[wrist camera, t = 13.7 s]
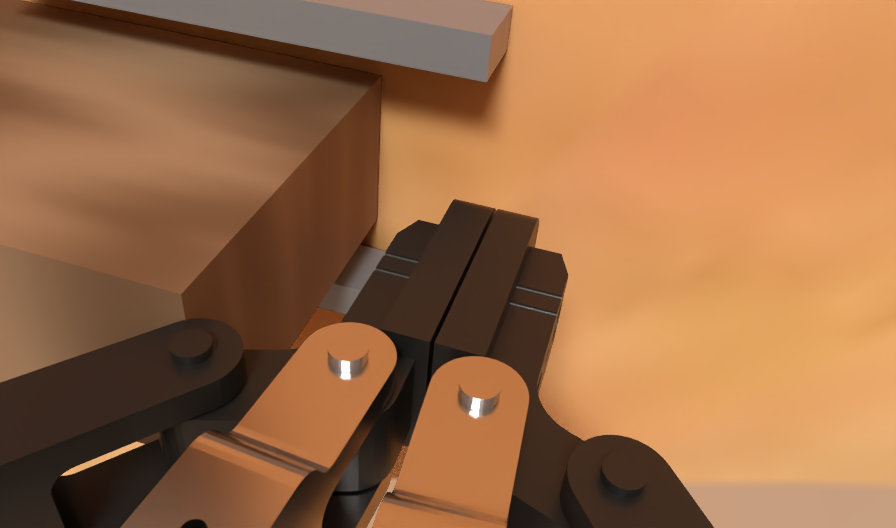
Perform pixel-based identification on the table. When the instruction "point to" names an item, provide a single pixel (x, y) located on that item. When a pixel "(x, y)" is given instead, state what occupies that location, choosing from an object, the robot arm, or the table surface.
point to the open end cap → (358, 52)
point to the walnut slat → (170, 184)
